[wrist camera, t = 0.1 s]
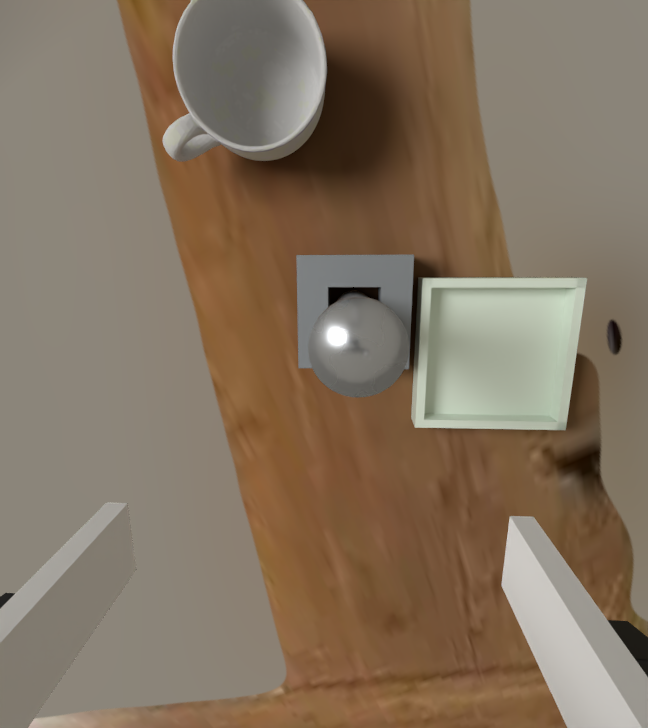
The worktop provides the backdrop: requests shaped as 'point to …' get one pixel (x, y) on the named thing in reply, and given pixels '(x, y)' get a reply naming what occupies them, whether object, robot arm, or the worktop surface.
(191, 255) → the worktop surface
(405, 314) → the socket block
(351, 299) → the pin
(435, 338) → the tray
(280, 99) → the teacup
